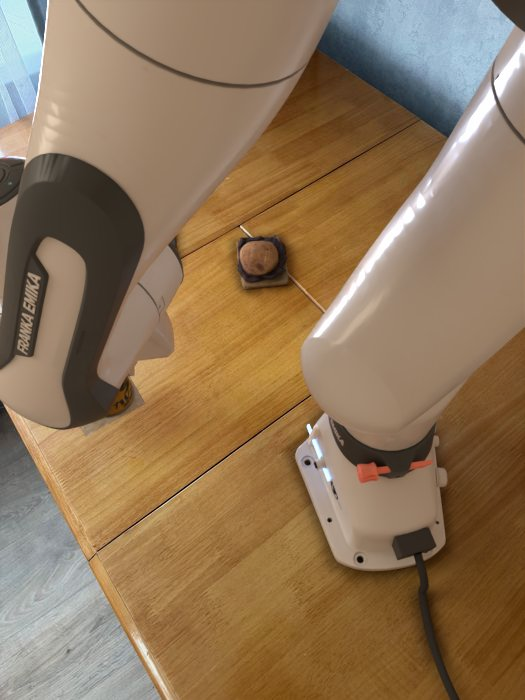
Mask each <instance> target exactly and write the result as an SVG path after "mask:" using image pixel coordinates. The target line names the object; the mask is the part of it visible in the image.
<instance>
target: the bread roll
mask: <svg viewBox="0 0 525 700" xmlns="http://www.w3.org/2000/svg"><path fill="white" fill-rule="evenodd" d="M235 246H236V259H237V272H238V274H239V278H240V281H241V285H242V288H243V289H244V290H249V289H257V288H264V287H277V286H284V285H285V286H286V285H289V281H290V280H289V279H290V278H289V271H288V270H289V269H288V263H287V260H288V256H287V247H286V245H285V243H284V242H281V239H280V237H279V236H277V235H276V234H275V235H273V236H266V237H265V236H262V235H259V236H254V237H253V236H250V237H249V236H248V237H240V238H239V239H238V240H237V241H236V244H235Z"/></svg>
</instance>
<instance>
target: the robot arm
mask: <svg viewBox="0 0 525 700" xmlns="http://www.w3.org/2000/svg"><path fill="white" fill-rule="evenodd" d="M490 1H491V2H492V3H493V4H494V5H495V7H496V8H497V9H498V10H499V11H500V12H501V13H502V14H503V15H504V16H505V17H506V18H507V19H509V21H510V22H512V24H514V27H513V28H512V30H511V31H510V32H509V34H508V36H507V38H506V39H505V41H504V43H503V45H502V46H501V48H500V49H499V51H498V53H497V55H496V56H495V58H494V59H493V61H492V63H491V65H490V66H489V68H488V70H486V71H487V72H486V73H485V75H484V76H483V78H482V80H481V81H480V82H479V83H480V84H479V85H478V86H477V89H476V90H475V91H474V93H473V95H472V97H471V99H470V100H469V102H468V104H467V105H466V106H465V109H464V111H463V112H462V114H461V116H460V118H459V119H458V121H457V123H456V124H455V126H454V128H453V130H452V131H451V133H450V135H449V137H448V138H447V140H446V141H445V143H444V144H443V146H442V147H441V150H440V152H439V153H438V155H437V156H436V158H435V160H434V161H433V163H432V164H431V166H430V167H429V169H428V170H427V171H426V173H425V174H424V176H423V177H422V179H421V180H420V182H419V183H418V184H417V185H416V187H415V188H414V189H413V191H412V192H411V193H410V194H409V196H407V198H406V200H405V201H404V202H403V204H402V205H401V206H400V207H399V209H398V210H397V211H396V212H395V214H394V215H393V217H392V218H391V219H390V221H389V222H388V223H387V224H386V226H385V227H384V228H383V230H382V231H381V233H380V234H379V235H378V237H377V238H376V240H374V242H373V243H372V245H371V246H370V248H369V249H368V250H367V251H366V253H365V254H364V256H363V257H362V258H361V260H360V261H359V263H358V264H357V265H356V267H355V269H354V270H353V272H351V274H350V276H349V277H348V279H347V280H346V282H345V283H344V284H343V286H342V288H341V289H340V291H338V294H337V295H336V296H335V298H334V299H333V301H332V302H330V304H329V306H328V307H327V309H326V310H325V311H324V313H323V314H322V315H321V317H320V318H319V319H318V321H317V322H316V323H315V325H314V327H313V328H312V329H311V330H310V332H309V334H308V336H307V337H306V338H305V339H304V341H303V342H302V344H301V347H300V353H299V354H300V355H299V356H300V367H301V373H302V377H303V379H304V383H305V387H306V388H307V391H308V392H309V394H310V396H311V397H312V399H313V401H314V402H315V404H317V406H318V407H319V408H320V409H321V410H322V411H323V412H324V413H323V414H322V415H321V416H320V418H319V419H318V420H317V421H316V422H315V424H314V425H313V427H311V425H310V423H308V424H307V425H306V428H307V432H308V433H309V436H308V438H306V440H304V441H303V442H302V443H301V444H300V445H299V446H298V447H297V449H296V451H295V453H294V459H295V463H296V465H297V467H298V470H299V473H300V475H301V477H302V480H303V482H304V485H305V487H306V488H305V489H306V490H307V492H308V495H309V498H310V501H311V503H312V506H313V508H314V510H315V513H316V515H317V518H318V520H319V522H320V525H321V528H322V531H323V533H324V535H325V538H326V540H327V543H328V545H329V548H330V551H331V554H332V556H333V557H334V559H335V561H336V562H337V563H338V564H340V565H343V566H345V567H347V568H349V569H354V570H357V571H363V572H385V571H395V570H399V569H404V568H405V569H406V568H409V567H413V566H416V569H417V573H418V578H419V585H418V588H417V593H418V601H419V602H418V603H419V607H420V613H421V619H422V623H423V628H424V631H425V635H426V640H427V642H428V646H429V649H430V653H431V655H432V658H433V661H434V664H435V667H436V669H437V673H438V675H439V678H440V680H441V683H442V684H443V687H444V689H445V692H446V694H447V696H448V697H449V700H461V698H460V697H459V695H458V693H457V691H456V689H455V687H454V684H453V682H452V680H451V677H450V675H449V672H448V670H447V668H446V664H445V662H444V659H443V657H442V654H441V650H440V647H439V644H438V641H437V637H436V634H435V631H434V627H433V624H432V618H431V612H430V607H429V602H428V594H427V593H428V590H429V588H430V584H429V583H430V582H429V576H428V571H427V567H426V564H425V562H426V561H427V560H429V559H431V558H433V557H434V556H435V555H437V554H438V552H440V551H441V550H442V548H443V547H444V546H445V544H446V542H447V541H446V530H445V521H444V512H443V505H442V496H441V489H440V488H445V487H447V485H448V472H447V470H446V469H445V467H438V464H437V455H436V448H437V447H439V445H440V438H439V436H438V435H435V434H436V433H437V426H438V419H439V418H440V417H441V415H442V414H443V413H444V411H445V410H446V408H448V406H449V404H450V403H451V401H452V400H453V399H454V398H455V396H457V394H458V392H459V391H460V390H461V389H462V387H463V386H464V385H465V384H466V382H467V381H469V379H470V377H471V376H472V375H473V373H475V372H476V371H477V370H479V368H480V367H482V366H483V365H484V364H485V363H486V362H487V361H489V360H490V359H491V358H492V357H493V356H494V355H495V354H496V353H498V352H499V351H500V350H501V349H502V348H503V347H504V346H506V344H507V343H508V342H510V341H511V340H512V339H513V338H514V337H516V336H517V334H519V333H520V332H521V331H522V330H523V329H524V328H525V0H490ZM339 2H340V0H47V4H46V5H47V7H46V17H45V18H46V20H45V28H44V38H43V46H42V56H41V66H40V73H39V78H38V79H39V81H38V88H37V95H36V101H35V107H34V113H33V119H32V122H31V123H32V124H31V128H30V133H29V138H28V142H27V149H26V152H25V153H26V154H25V157H22V156H13V155H12V156H3V157H0V306H1V312H0V402H1V403H2V404H3V405H5V406H6V407H8V408H9V410H11V411H12V412H14V413H16V414H17V415H19V416H21V417H22V418H24V419H26V420H28V421H30V422H33V423H34V424H38V425H40V426H43V427H45V428H49V429H52V430H58V431H66V430H71V429H76V428H81V426H84V425H87V424H90V423H93V422H96V421H98V420H100V419H103V418H105V417H107V415H108V413H109V411H110V409H111V407H112V405H113V403H114V401H115V399H116V397H117V395H118V393H119V392H120V390H119V389H120V387H121V385H122V384H123V382H124V380H125V378H126V377H128V376H130V377H135V375H136V365H137V364H138V362H141V361H149V360H155V359H165V358H169V357H170V356H171V355H172V354H173V353H174V352H175V334H174V328H173V323H172V321H171V319H170V316H169V314H168V312H167V309H168V308H169V306H170V304H171V303H172V301H173V299H174V297H175V296H176V294H177V292H178V290H179V288H180V286H181V285H182V284H183V282H184V279H185V278H184V277H185V276H184V266H183V262H182V259H181V257H180V254H179V252H178V250H177V246H176V247H175V246H174V244H173V242H172V240H173V238H174V237H175V238H176V236H178V234H179V233H180V231H182V229H183V228H184V227H185V226H186V225H187V224H188V222H190V220H191V219H192V218H193V217H194V215H195V214H196V213H197V212H198V211H199V210H200V208H202V206H203V205H204V204H205V203H206V201H207V200H209V198H210V197H211V196H212V195H213V194H214V193H215V192H216V190H217V189H218V188H219V187H220V185H222V184H223V182H224V181H225V180H226V179H227V178H228V176H229V175H231V173H232V172H233V171H234V170H235V168H236V167H237V166H238V165H239V164H240V163H241V162H242V160H243V159H244V158H245V157H246V155H248V153H249V152H250V151H251V149H252V148H253V147H254V146H255V145H256V143H257V142H258V141H259V140H260V138H261V137H262V135H263V134H264V132H265V131H266V130H267V129H268V127H269V125H270V124H271V123H272V121H273V120H274V119H275V118H276V116H277V115H278V113H279V112H280V110H281V109H282V107H283V106H284V104H285V103H286V101H287V100H288V98H289V97H290V95H291V94H292V92H293V90H294V89H295V87H296V85H297V84H298V82H299V80H300V79H301V77H302V75H303V74H304V71H305V69H306V68H307V66H308V64H309V62H310V60H311V58H312V56H313V54H314V53H315V51H316V49H317V47H318V45H319V43H320V41H321V39H322V37H323V36H324V33H325V32H326V29H327V27H328V25H329V23H330V21H331V19H332V17H333V15H334V13H335V11H336V8H337V7H338V4H339ZM305 462H309V463H310V464H309V465H307V464H306V463H305ZM329 520H330V522H329ZM358 558H361V559H362V562H358Z"/></svg>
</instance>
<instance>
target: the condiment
mask: <svg viewBox="0 0 525 700" xmlns="http://www.w3.org/2000/svg"><path fill="white" fill-rule="evenodd" d="M119 390H120V392H119V393H118V395H117V397H116V399H115V401H114V403H113V405H112V407H111V409H110V411H109V413H108V415H107V417H105V418H103V419H100V420H98V421H96V422H93V423H90V424H87V425H84V426H81V427H80V429H81V431H82V434H83V436H84V437H85V438H86V437H88V436H89V435H92V434H93V433H95V432H97V431H98V430H100V429H103V428H104V427H106V426H107V425H109V424H111V423H113V422H115V421H117V420H119V419H121V418H123V417H125V416H126V415H128V414H130V413H132V412H134V411H135V410H137V409H139V408H141V407H143V406H144V405H145V404H147V403H146V401H145V399H144V398H143V397H142V394H141V393H140V391H139V390H138V388H137V386H136V384H135V382H134V381H133V380H132V377H131V376H128V377H126V378H125V380H124V382H123V384H122V385H121V387H120V389H119Z"/></svg>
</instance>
